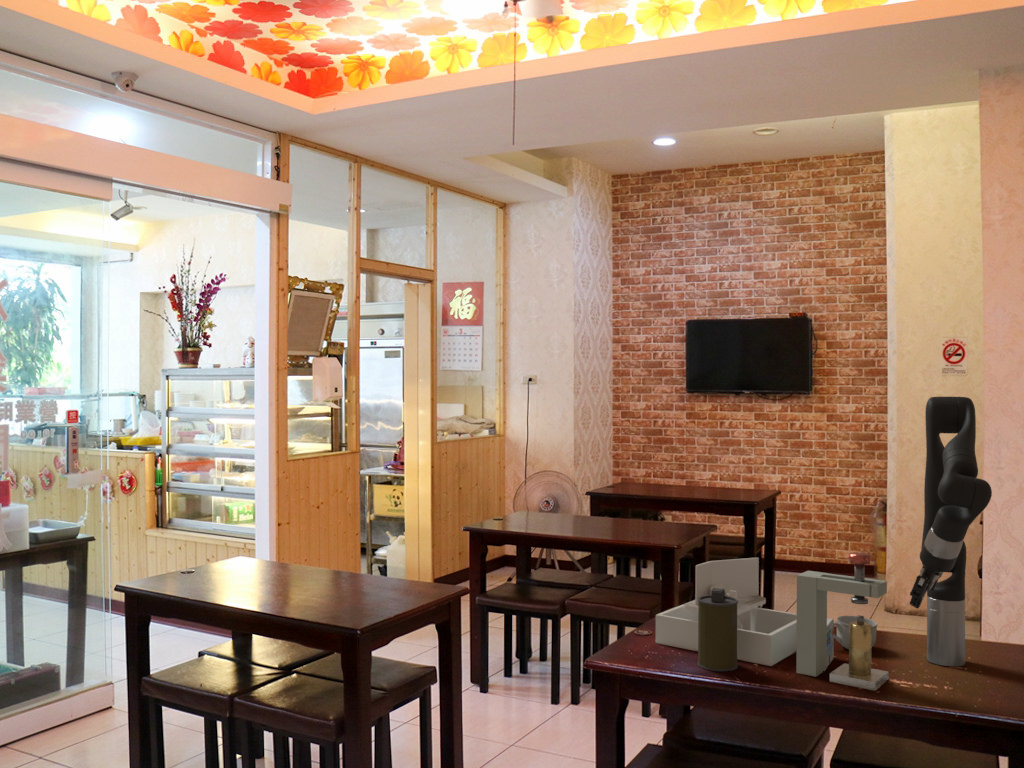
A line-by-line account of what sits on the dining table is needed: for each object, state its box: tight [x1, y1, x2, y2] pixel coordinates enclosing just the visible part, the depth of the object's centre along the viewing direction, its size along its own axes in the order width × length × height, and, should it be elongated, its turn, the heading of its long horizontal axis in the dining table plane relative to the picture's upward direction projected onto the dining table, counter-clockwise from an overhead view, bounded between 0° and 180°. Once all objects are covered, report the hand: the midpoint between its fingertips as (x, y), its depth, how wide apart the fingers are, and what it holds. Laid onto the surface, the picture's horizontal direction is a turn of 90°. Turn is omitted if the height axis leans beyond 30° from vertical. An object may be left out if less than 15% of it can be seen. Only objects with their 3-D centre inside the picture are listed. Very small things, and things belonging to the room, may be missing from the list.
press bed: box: [829, 663, 890, 692], centre depth 225 cm, size 11×11×2 cm
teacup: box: [834, 614, 878, 650], centre depth 254 cm, size 14×11×8 cm
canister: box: [696, 588, 739, 672], centre depth 237 cm, size 11×10×20 cm
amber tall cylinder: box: [848, 615, 872, 676], centre depth 225 cm, size 5×5×14 cm
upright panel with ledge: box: [684, 557, 767, 632], centre depth 259 cm, size 28×21×23 cm
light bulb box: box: [827, 617, 835, 667], centre depth 242 cm, size 11×7×11 cm, turn 151°
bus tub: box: [655, 599, 797, 667], centre depth 258 cm, size 27×34×8 cm
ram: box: [848, 552, 871, 605], centre depth 226 cm, size 5×5×12 cm
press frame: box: [795, 570, 888, 678], centre depth 228 cm, size 8×20×25 cm, turn 52°
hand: (921, 596), depth 217 cm, fingers open, 8 cm apart
